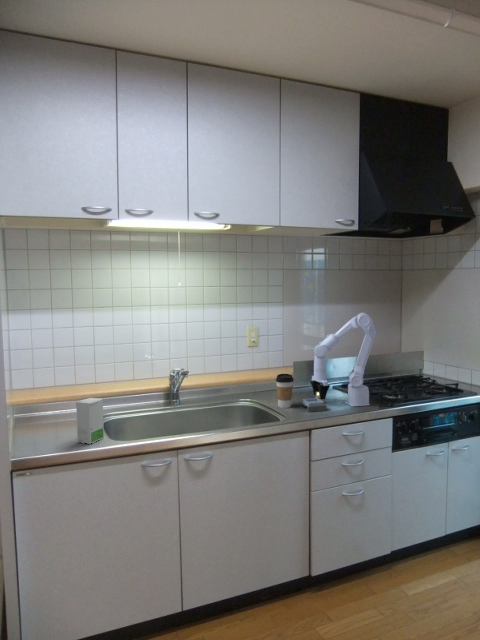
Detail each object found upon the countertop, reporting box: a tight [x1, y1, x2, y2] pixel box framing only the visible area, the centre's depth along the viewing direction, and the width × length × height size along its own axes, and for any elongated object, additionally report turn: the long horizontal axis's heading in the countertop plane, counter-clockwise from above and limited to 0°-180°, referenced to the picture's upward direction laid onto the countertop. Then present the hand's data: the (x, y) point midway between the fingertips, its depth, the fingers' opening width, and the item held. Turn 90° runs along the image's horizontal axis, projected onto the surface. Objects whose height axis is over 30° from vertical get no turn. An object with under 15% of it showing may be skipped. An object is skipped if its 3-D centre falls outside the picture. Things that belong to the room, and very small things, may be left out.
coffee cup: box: [275, 373, 294, 409], centre depth 228 cm, size 8×8×15 cm
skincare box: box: [75, 397, 105, 445], centre depth 182 cm, size 8×7×16 cm
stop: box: [306, 404, 327, 413], centre depth 220 cm, size 9×1×2 cm, turn 105°
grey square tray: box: [302, 397, 325, 408], centre depth 224 cm, size 8×8×4 cm
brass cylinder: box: [315, 391, 325, 403], centre depth 234 cm, size 4×4×6 cm
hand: (319, 397), depth 234 cm, fingers open, 7 cm apart
